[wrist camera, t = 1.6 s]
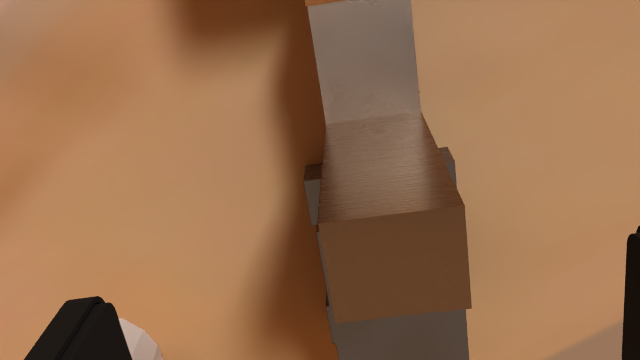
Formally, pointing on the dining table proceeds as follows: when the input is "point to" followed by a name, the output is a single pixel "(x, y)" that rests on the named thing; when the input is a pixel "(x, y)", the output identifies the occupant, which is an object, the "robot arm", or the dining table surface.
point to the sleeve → (393, 332)
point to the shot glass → (139, 342)
